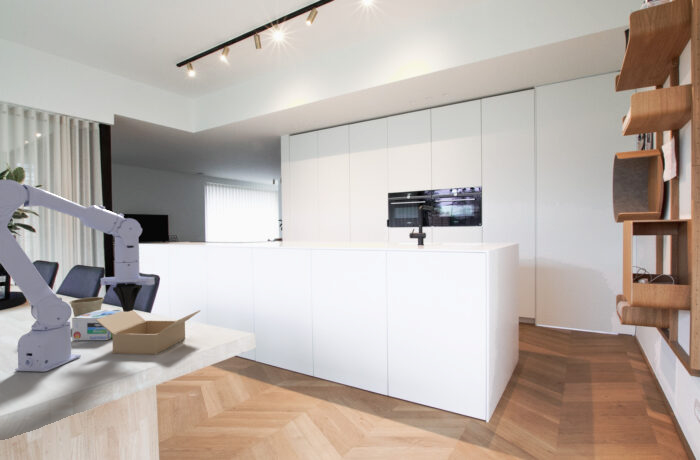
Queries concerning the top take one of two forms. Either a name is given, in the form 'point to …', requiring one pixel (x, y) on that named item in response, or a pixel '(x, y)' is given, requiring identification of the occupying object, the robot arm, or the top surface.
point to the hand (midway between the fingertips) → (128, 310)
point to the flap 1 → (120, 321)
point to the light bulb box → (91, 326)
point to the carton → (147, 337)
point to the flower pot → (86, 305)
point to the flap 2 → (178, 322)
